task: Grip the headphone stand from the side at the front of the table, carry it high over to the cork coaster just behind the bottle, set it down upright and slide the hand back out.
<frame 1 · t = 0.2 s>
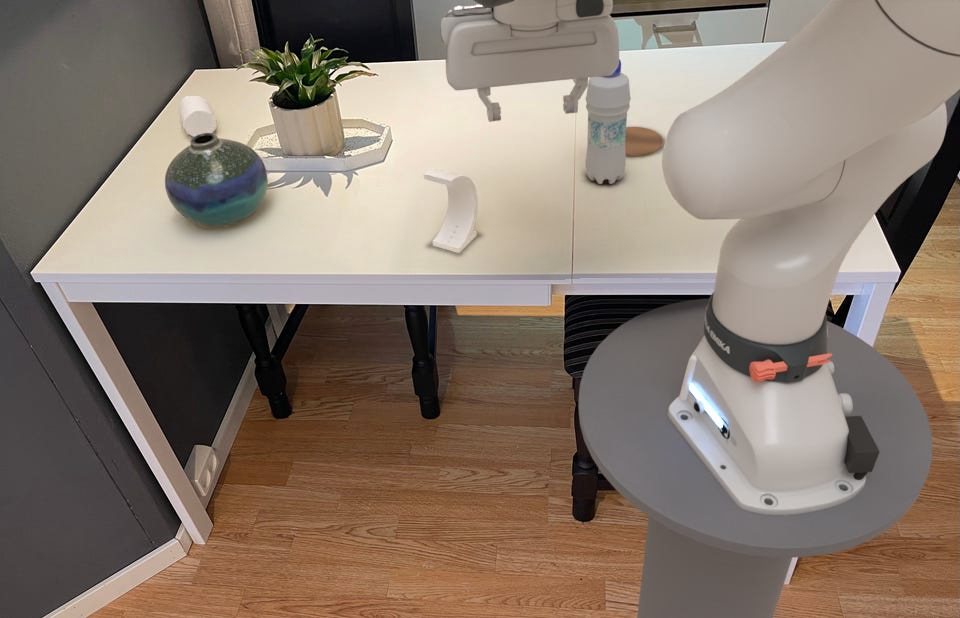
hand: (532, 115, 96), 23 cm above the table, tool pointing down, fingers open, 8 cm apart
roll: (200, 125, 153), on the table
bottle: (604, 178, 128), on the table
vase: (227, 214, 127), on the table
headphone stand: (456, 239, 117), on the table
coaster: (633, 142, 136), on the table
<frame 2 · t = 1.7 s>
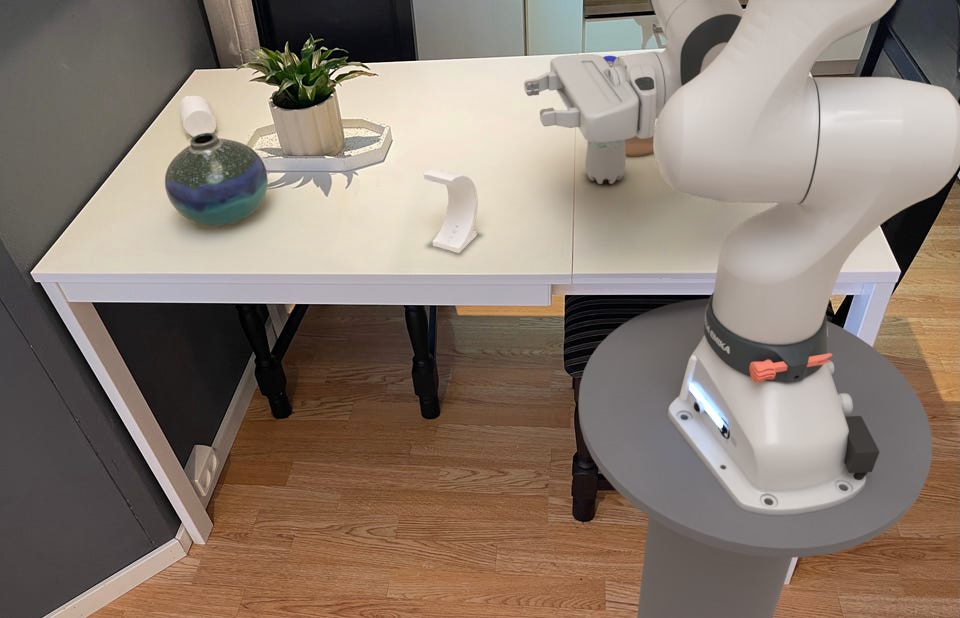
hand: (532, 102, 106), 20 cm above the table, tool horizontal, fingers open, 8 cm apart
nothing on the table moved.
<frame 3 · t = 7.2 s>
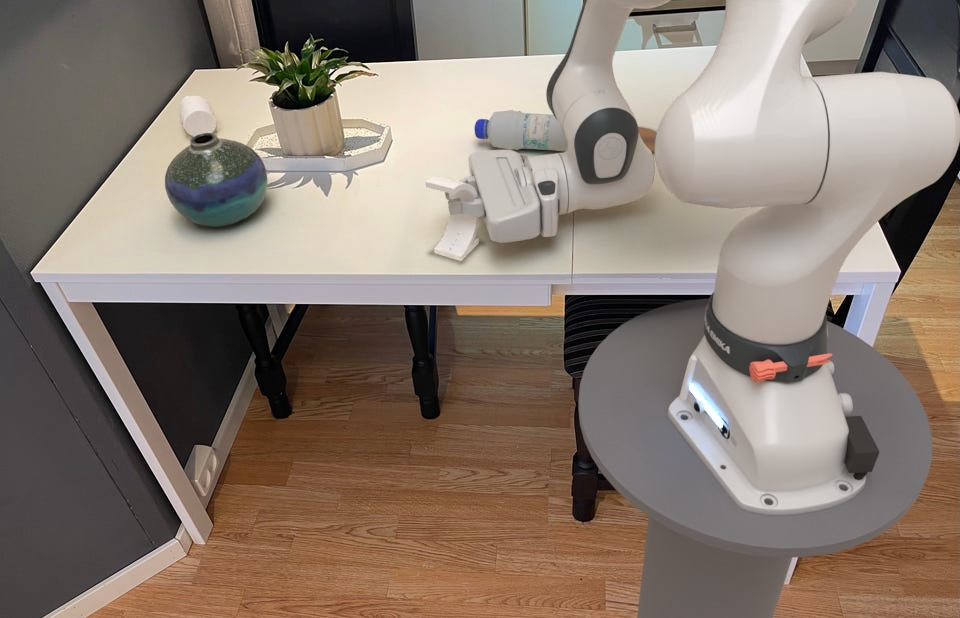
hand: (446, 200, 113), 7 cm above the table, tool horizontal, fingers closed on headphone stand, 3 cm apart
bottle: (591, 134, 133), point 3 cm above the table
headphone stand: (458, 247, 116), on the table, touching gripper
everything else where it was.
when the fingers open (7 cm above the table, at t = 22.6 s): headphone stand stays where it is, resting on coaster.
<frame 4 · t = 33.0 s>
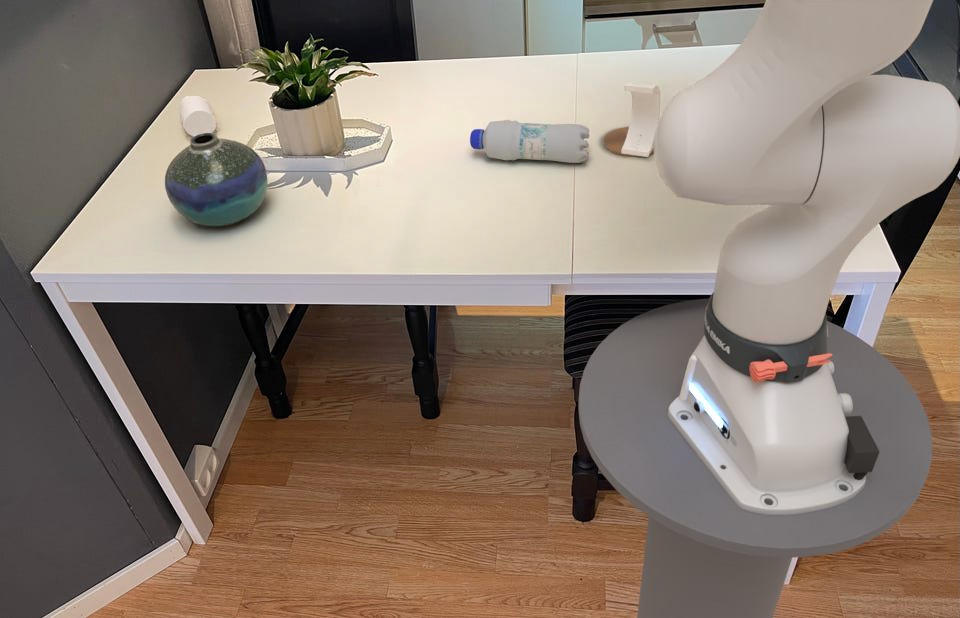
bottle: (589, 144, 130), point 3 cm above the table
headphone stand: (639, 147, 134), resting on coaster
everything else where it was.
at the end: headphone stand 2.6 cm off-centre on the coaster, point 0.2 cm above the coaster's base; headphone stand 9.3 cm from the bottle (horizontally); headphone stand tilted 0° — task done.
